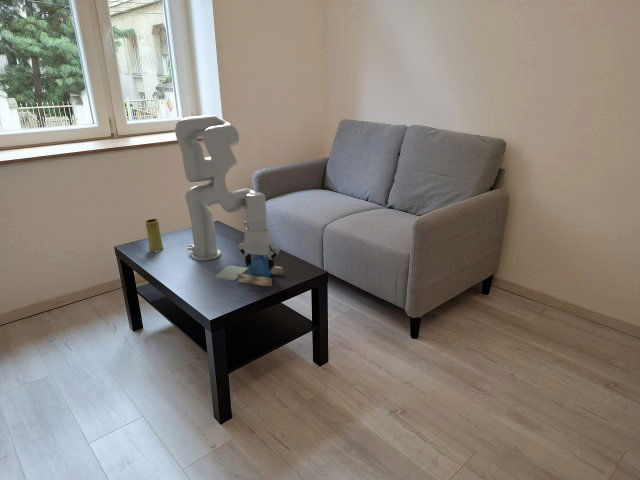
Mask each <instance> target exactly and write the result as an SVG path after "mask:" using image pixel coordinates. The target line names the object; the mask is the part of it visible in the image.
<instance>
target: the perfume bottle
mask: <svg viewBox="0 0 640 480" xmlns="http://www.w3.org/2000/svg"><path fill="white" fill-rule="evenodd" d="M268 260H269V258H268V257H267V256H260V255H254V257H253V259H251V264H250V265H249V266H248V267H249V275H253V276H260V277H267V278H271V275H272V274H270V269H269V265H268Z"/></svg>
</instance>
